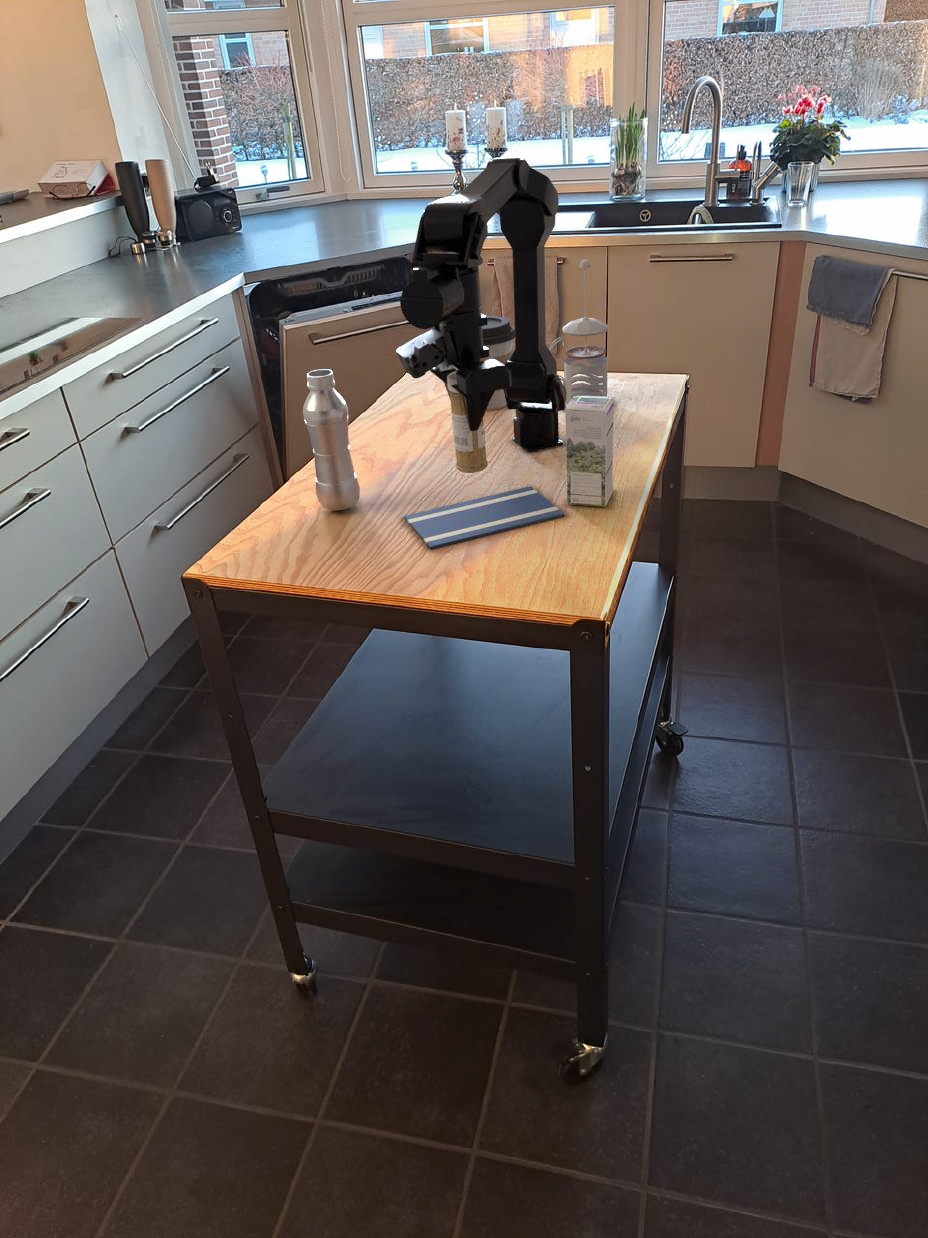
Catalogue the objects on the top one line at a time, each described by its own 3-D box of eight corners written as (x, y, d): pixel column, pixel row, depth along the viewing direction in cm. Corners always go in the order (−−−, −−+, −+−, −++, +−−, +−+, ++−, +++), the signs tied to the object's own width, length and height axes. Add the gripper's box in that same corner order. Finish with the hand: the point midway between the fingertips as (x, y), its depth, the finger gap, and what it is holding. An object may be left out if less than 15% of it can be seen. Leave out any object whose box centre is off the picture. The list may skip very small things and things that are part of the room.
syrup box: (613, 491, 134) (614, 394, 127) (605, 508, 129) (606, 408, 122) (575, 489, 136) (574, 393, 128) (565, 506, 131) (564, 407, 124)
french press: (616, 411, 163) (618, 263, 150) (550, 416, 164) (546, 268, 151) (609, 394, 171) (610, 251, 158) (547, 398, 172) (543, 257, 159)
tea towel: (530, 488, 137) (530, 485, 137) (564, 515, 128) (564, 513, 128) (404, 518, 132) (403, 515, 131) (430, 549, 123) (430, 546, 123)
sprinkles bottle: (494, 467, 129) (487, 373, 122) (467, 477, 127) (458, 381, 120) (476, 458, 132) (468, 365, 125) (449, 467, 130) (440, 373, 123)
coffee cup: (462, 395, 177) (456, 315, 169) (521, 393, 175) (518, 312, 168) (454, 415, 168) (447, 331, 160) (516, 413, 166) (512, 329, 158)
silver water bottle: (327, 519, 133) (305, 383, 123) (312, 503, 138) (289, 372, 128) (369, 508, 135) (350, 374, 125) (352, 493, 141) (333, 363, 130)
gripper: (377, 304, 123) (391, 417, 132) (424, 334, 108) (436, 459, 117) (455, 292, 127) (463, 402, 135) (510, 319, 111) (516, 442, 120)
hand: (467, 425), depth 126 cm, fingers closed on sprinkles bottle, 4 cm apart
